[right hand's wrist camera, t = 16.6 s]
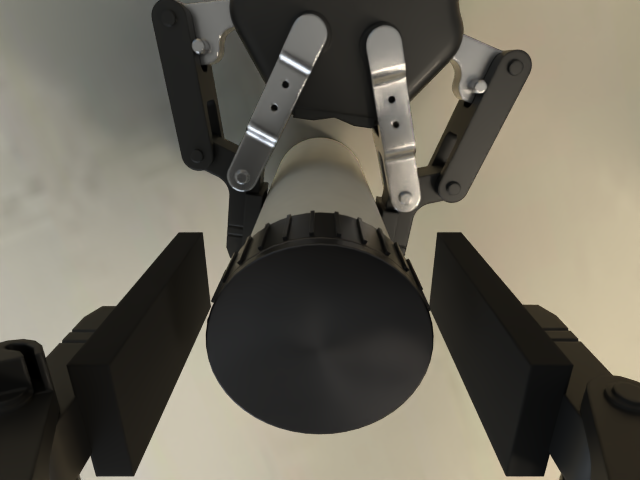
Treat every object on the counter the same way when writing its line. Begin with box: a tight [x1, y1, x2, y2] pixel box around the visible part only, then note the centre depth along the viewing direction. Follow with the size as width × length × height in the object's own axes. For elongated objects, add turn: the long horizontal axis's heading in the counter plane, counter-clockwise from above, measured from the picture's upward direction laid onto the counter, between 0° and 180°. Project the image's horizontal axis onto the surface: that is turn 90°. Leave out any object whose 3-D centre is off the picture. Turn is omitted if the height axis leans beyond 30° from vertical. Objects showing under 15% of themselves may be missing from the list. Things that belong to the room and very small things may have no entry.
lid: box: [206, 210, 434, 434], centre depth 11 cm, size 6×6×2 cm
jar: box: [251, 138, 390, 239], centre depth 18 cm, size 5×5×15 cm
